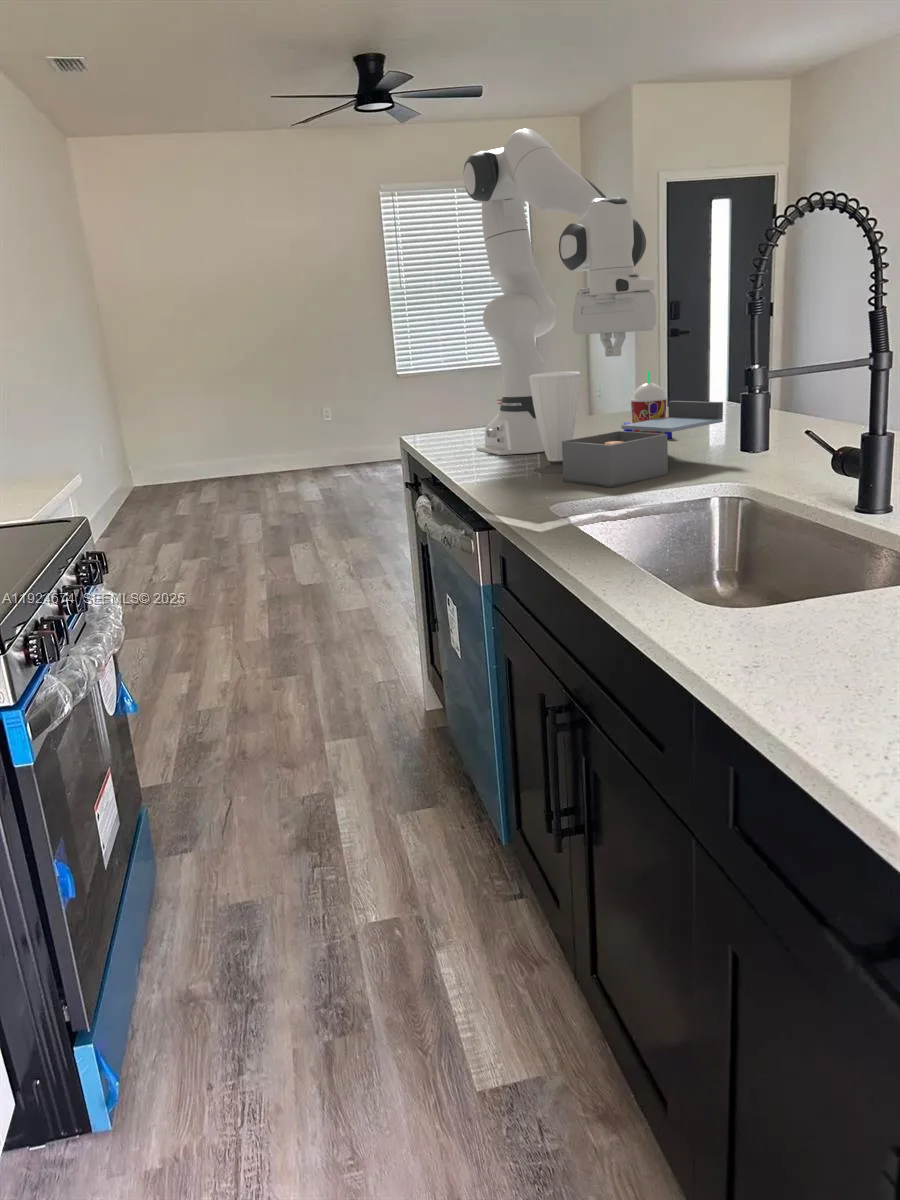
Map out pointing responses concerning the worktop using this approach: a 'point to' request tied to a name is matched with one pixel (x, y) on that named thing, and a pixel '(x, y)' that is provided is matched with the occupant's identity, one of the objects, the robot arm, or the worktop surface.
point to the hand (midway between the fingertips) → (613, 356)
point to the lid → (683, 417)
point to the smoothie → (648, 404)
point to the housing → (615, 458)
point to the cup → (555, 413)
